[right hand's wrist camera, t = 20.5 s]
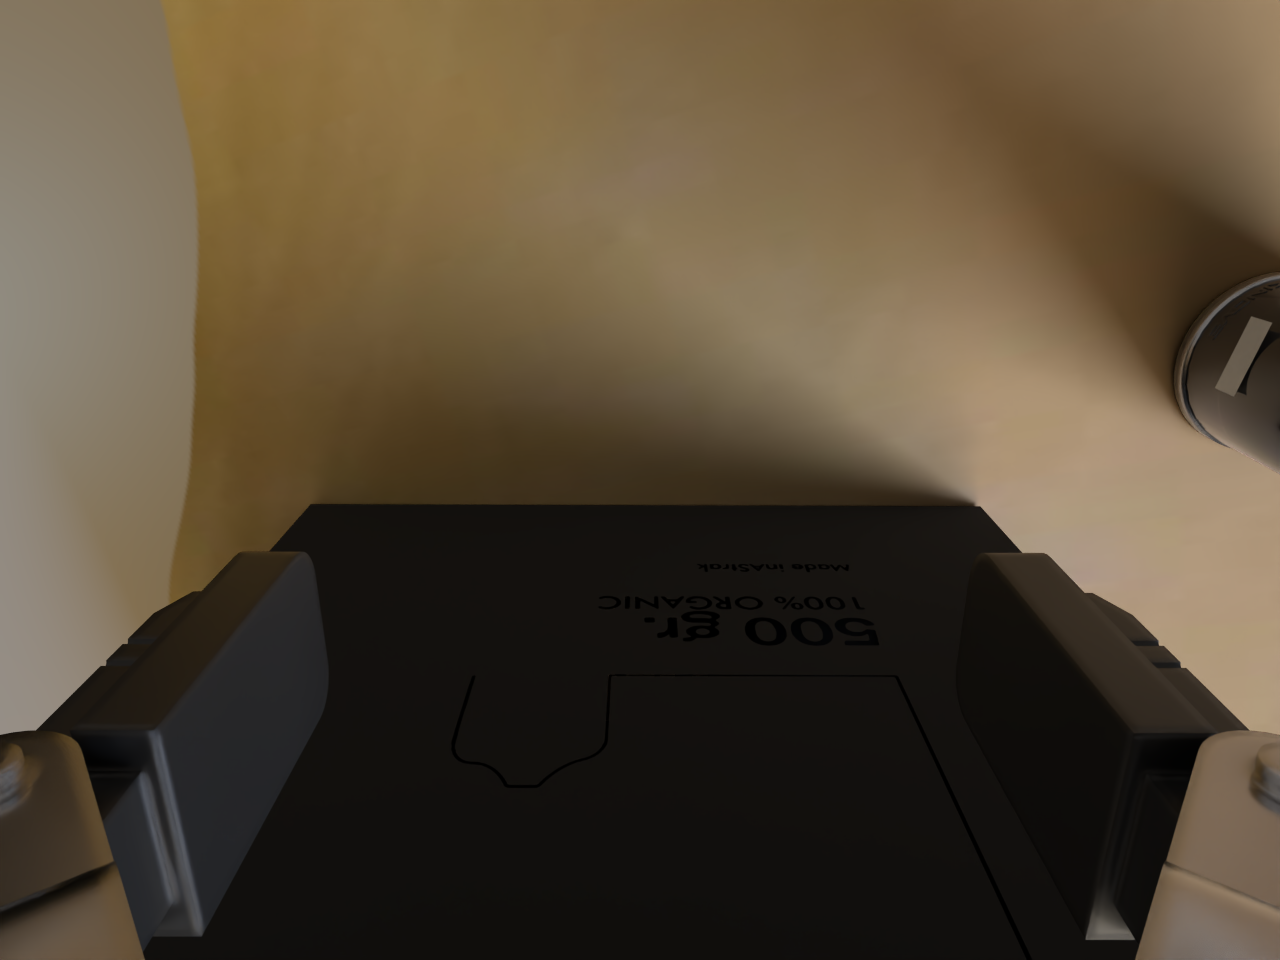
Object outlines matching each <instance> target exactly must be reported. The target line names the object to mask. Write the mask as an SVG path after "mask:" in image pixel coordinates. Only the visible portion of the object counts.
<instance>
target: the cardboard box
mask: <svg viewBox="0 0 1280 960" xmlns="http://www.w3.org/2000/svg"><path fill="white" fill-rule="evenodd" d="M269 552H305V553H307V554H308V555H309V556H310V558H311V560H312V562H313V565H314V569H315V574H316V581H317V588H318V595H319V602H320V609H321V616H322V623H323V630H324V637H325V644H326V651H327V658H328V666H329V685H328V693H327V699H326V704H325V707H324V710H323V713H322V716H321V718H320V720H319V722H318V723H317V725H316V727H315V729H314V731H313V733H312V734H311V736H310V738H309V740H308V742H307V744H306V746H305V747H304V749H303V751H302V753H301V755H300V757H299V758H298V760H297V762H296V764H295V766H294V768H293V769H292V771H291V773H290V775H289V777H288V779H287V781H286V782H285V784H284V786H283V788H282V790H281V792H280V793H279V795H278V797H277V799H276V801H275V803H274V804H273V806H272V808H271V810H270V812H269V814H268V815H267V817H266V819H265V821H264V823H263V825H262V827H261V828H260V830H259V832H258V834H257V836H256V838H255V839H254V841H253V843H252V845H251V847H250V849H249V850H248V852H247V854H246V856H245V858H244V860H243V861H242V863H241V865H240V867H239V869H238V871H237V873H236V874H235V876H234V878H233V880H232V882H231V884H230V885H229V887H228V889H227V891H226V893H225V895H224V896H223V898H222V900H221V902H220V904H219V906H218V908H217V909H216V911H215V913H214V915H213V917H212V919H211V920H210V922H209V924H208V926H207V928H206V930H205V931H204V933H203V935H202V936H152V938H151V940H150V941H149V943H148V945H147V946H146V948H145V950H144V951H143V955H144V958H145V960H1135V958H1136V955H1137V952H1138V948H1139V945H1138V943H1137V942H1136V940H1085V938H1084V936H1083V934H1082V933H1081V931H1080V929H1079V927H1078V925H1077V924H1076V922H1075V920H1074V918H1073V916H1072V914H1071V913H1070V911H1069V909H1068V907H1067V905H1066V904H1065V902H1064V900H1063V898H1062V896H1061V894H1060V893H1059V891H1058V889H1057V887H1056V885H1055V884H1054V882H1053V880H1052V878H1051V876H1050V874H1049V873H1048V871H1047V869H1046V867H1045V865H1044V864H1043V862H1042V860H1041V858H1040V856H1039V854H1038V853H1037V851H1036V849H1035V847H1034V845H1033V844H1032V842H1031V840H1030V838H1029V836H1028V834H1027V833H1026V831H1025V829H1024V827H1023V825H1022V824H1021V822H1020V820H1019V818H1018V816H1017V814H1016V813H1015V811H1014V809H1013V807H1012V805H1011V804H1010V802H1009V800H1008V798H1007V796H1006V794H1005V793H1004V791H1003V789H1002V787H1001V785H1000V784H999V782H998V780H997V778H996V776H995V774H994V773H993V771H992V769H991V767H990V765H989V764H988V762H987V760H986V758H985V756H984V754H983V753H982V751H981V749H980V747H979V745H978V744H977V742H976V740H975V738H974V736H973V734H972V733H971V731H970V729H969V727H968V725H967V724H966V722H965V720H964V718H963V715H962V713H961V710H960V706H959V702H958V697H957V689H956V665H957V658H958V651H959V644H960V637H961V630H962V623H963V617H964V610H965V603H966V596H967V589H968V582H969V576H970V570H971V567H972V564H973V561H974V560H975V558H976V556H978V555H979V554H981V553H1022V552H1021V551H1020V550H1019V549H1018V548H1017V547H1016V546H1015V544H1014V543H1013V542H1012V541H1011V540H1010V539H1009V538H1008V537H1007V536H1006V534H1005V533H1004V532H1003V531H1002V530H1001V529H1000V528H999V527H998V526H997V524H996V523H995V522H994V521H993V520H992V519H991V518H990V517H989V516H988V515H987V513H986V512H985V511H984V510H983V509H982V508H981V507H980V506H679V505H372V504H311V505H310V506H309V507H308V508H307V509H306V510H305V511H304V513H303V514H302V515H301V516H300V517H299V518H298V519H297V521H296V522H295V523H294V524H293V525H292V526H291V527H290V528H289V530H288V531H287V532H286V533H285V534H284V535H283V536H282V538H281V539H280V540H279V541H278V542H277V543H276V544H275V546H274V547H273V548H272V549H271V550H270V551H269ZM626 596H627V598H626V599H625V597H626ZM635 597H636V598H640V600H638V601H636V600H635ZM666 598H667V599H669V601H667V599H666ZM600 608H607V609H600ZM613 608H614V609H613ZM626 608H629V609H626ZM637 608H639V609H637ZM651 618H653V619H652V620H651ZM667 618H669V619H668V620H667ZM673 618H677V621H676V620H674V619H673ZM681 618H682V619H681ZM610 674H613V675H616V676H611V692H610V711H609V720H607V721H606V710H607V692H608V675H610ZM627 674H653V675H654V676H626V675H627ZM660 675H675V676H660ZM693 675H708V676H693Z"/></svg>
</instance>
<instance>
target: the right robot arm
mask: <svg viewBox="0 0 1280 960" xmlns="http://www.w3.org/2000/svg"><path fill="white" fill-rule="evenodd" d="M1174 389H1175V395H1176V399H1177V402H1178V405H1179V407H1180V409H1181V412H1182V413H1183V415H1184V417H1185V418H1186V419H1187V421H1188V422H1189V423H1190V424H1191V425H1192V426H1193V427H1194V428H1195V429H1196V430H1197V431H1198V432H1200V433H1201V434H1203V435H1204V436H1206V437H1208V438H1210V439H1211V440H1213V441H1215V442H1217V443H1219V444H1221V445H1224V446H1226V447H1229V448H1232V449H1234V450H1236V451H1238V452H1240V453H1242V454H1244V455H1245V456H1247V457H1249V458H1251V459H1252V460H1254V461H1256V462H1258V463H1260V464H1262V465H1263V466H1265V467H1267V468H1269V469H1271V470H1273V471H1275V472H1276V473H1278V474H1280V272H1274V273H1268V274H1264V275H1260V276H1257V277H1254V278H1251V279H1248V280H1246V281H1244V282H1242V283H1240V284H1237V285H1236V286H1234V287H1232V288H1230V289H1229V290H1227V291H1226V292H1224V293H1223V294H1221V295H1220V296H1219V297H1218V298H1216V299H1215V300H1214V301H1213V302H1212V303H1211V304H1210V305H1209V306H1207V307H1206V308H1205V309H1204V311H1203V312H1202V313H1201V314H1200V315H1199V316H1198V318H1197V319H1196V320H1195V321H1194V323H1193V324H1192V326H1191V327H1190V329H1189V330H1188V332H1187V334H1186V336H1185V338H1184V340H1183V342H1182V344H1181V347H1180V349H1179V352H1178V355H1177V359H1176V364H1175V370H1174ZM106 662H107V663H106V666H100V667H99V668H98V669H97V670H96V671H95V672H94V673H93V674H92V675H91V676H90V677H89V678H88V679H87V680H86V681H85V682H84V683H83V684H82V685H81V686H80V687H79V688H78V689H77V690H76V691H75V692H74V693H73V694H72V695H71V696H70V697H69V698H68V699H67V700H66V701H65V702H64V703H63V704H62V705H61V706H60V707H59V708H58V709H57V710H56V711H55V712H54V713H53V714H52V715H51V716H50V717H49V718H48V719H47V720H46V721H45V722H44V723H43V724H42V725H41V726H40V727H39V728H38V729H37V730H36V731H22V732H13V733H8V734H3V735H0V960H145V958H144V955H143V951H144V950H145V948H146V946H147V945H148V943H149V941H150V940H151V938H152V936H202V935H203V933H204V931H205V930H206V928H207V926H208V924H209V922H210V920H211V919H212V917H213V915H214V913H215V911H216V909H217V908H218V906H219V904H220V902H221V900H222V898H223V896H224V895H225V893H226V891H227V889H228V887H229V885H230V884H231V882H232V880H233V878H234V876H235V874H236V873H237V871H238V869H239V867H240V865H241V863H242V861H243V860H244V858H245V856H246V854H247V852H248V850H249V849H250V847H251V845H252V843H253V841H254V839H255V838H256V836H257V834H258V832H259V830H260V828H261V827H262V825H263V823H264V821H265V819H266V817H267V815H268V814H269V812H270V810H271V808H272V806H273V804H274V803H275V801H276V799H277V797H278V795H279V793H280V792H281V790H282V788H283V786H284V784H285V782H286V781H287V779H288V777H289V775H290V773H291V771H292V769H293V768H294V766H295V764H296V762H297V760H298V758H299V757H300V755H301V753H302V751H303V749H304V747H305V746H306V744H307V742H308V740H309V738H310V736H311V734H312V733H313V731H314V729H315V727H316V725H317V723H318V722H319V720H320V718H321V716H322V713H323V710H324V707H325V704H326V699H327V693H328V685H329V666H328V658H327V651H326V644H325V637H324V630H323V623H322V616H321V609H320V602H319V595H318V588H317V581H316V574H315V569H314V565H313V562H312V560H311V558H310V556H309V555H308V554H307V553H305V552H240V553H238V554H237V555H236V556H235V557H234V558H233V559H232V560H231V561H230V562H229V563H228V564H227V565H226V566H225V567H224V568H223V569H222V570H221V571H220V572H219V574H218V575H217V576H216V577H215V578H214V579H213V580H212V581H211V582H210V583H209V584H208V585H207V586H206V587H205V588H204V589H203V590H202V591H201V592H192V593H190V594H188V595H186V596H184V597H182V598H181V599H179V600H177V601H175V602H173V603H172V604H170V605H168V606H166V607H164V608H163V609H161V610H159V611H157V612H155V613H154V614H153V615H152V616H151V617H150V618H149V619H148V620H147V621H146V622H145V623H144V624H143V625H142V626H140V627H139V628H138V630H136V631H135V632H134V633H133V634H132V635H131V636H130V637H129V639H128V644H122V645H121V646H120V647H119V648H118V649H117V650H116V651H115V652H114V653H113V654H112V655H111V656H110V657H109V658H108V659H107V661H106ZM1180 663H1181V662H1180V661H1179V660H1178V659H1177V658H1175V657H1174V656H1173V655H1172V654H1171V653H1170V652H1169V651H1168V650H1167V649H1166V648H1165V647H1164V646H1159V644H1158V640H1157V639H1156V638H1155V637H1154V636H1153V635H1152V634H1151V633H1150V632H1149V631H1148V630H1147V629H1146V628H1145V627H1144V626H1143V625H1142V624H1141V623H1140V622H1139V621H1138V620H1137V619H1136V618H1135V617H1134V616H1133V615H1131V614H1130V613H1128V612H1126V611H1124V610H1122V609H1121V608H1119V607H1117V606H1115V605H1113V604H1111V603H1110V602H1108V601H1106V600H1104V599H1102V598H1101V597H1099V596H1097V595H1095V594H1093V593H1084V592H1083V591H1082V590H1081V589H1080V588H1079V587H1078V586H1077V585H1076V584H1075V582H1074V581H1073V580H1072V579H1071V578H1070V577H1069V576H1068V575H1067V574H1066V573H1065V572H1064V571H1063V570H1062V569H1061V568H1060V567H1059V566H1058V565H1057V564H1056V563H1055V562H1054V561H1053V560H1052V559H1051V557H1049V556H1048V555H1047V554H1044V553H981V554H979V555H978V556H976V558H975V560H974V561H973V564H972V567H971V570H970V576H969V582H968V589H967V596H966V603H965V610H964V617H963V623H962V630H961V637H960V644H959V651H958V658H957V665H956V689H957V697H958V702H959V706H960V710H961V713H962V715H963V718H964V720H965V722H966V724H967V725H968V727H969V729H970V731H971V733H972V734H973V736H974V738H975V740H976V742H977V744H978V745H979V747H980V749H981V751H982V753H983V754H984V756H985V758H986V760H987V762H988V764H989V765H990V767H991V769H992V771H993V773H994V774H995V776H996V778H997V780H998V782H999V784H1000V785H1001V787H1002V789H1003V791H1004V793H1005V794H1006V796H1007V798H1008V800H1009V802H1010V804H1011V805H1012V807H1013V809H1014V811H1015V813H1016V814H1017V816H1018V818H1019V820H1020V822H1021V824H1022V825H1023V827H1024V829H1025V831H1026V833H1027V834H1028V836H1029V838H1030V840H1031V842H1032V844H1033V845H1034V847H1035V849H1036V851H1037V853H1038V854H1039V856H1040V858H1041V860H1042V862H1043V864H1044V865H1045V867H1046V869H1047V871H1048V873H1049V874H1050V876H1051V878H1052V880H1053V882H1054V884H1055V885H1056V887H1057V889H1058V891H1059V893H1060V894H1061V896H1062V898H1063V900H1064V902H1065V904H1066V905H1067V907H1068V909H1069V911H1070V913H1071V914H1072V916H1073V918H1074V920H1075V922H1076V924H1077V925H1078V927H1079V929H1080V931H1081V933H1082V934H1083V936H1084V938H1085V940H1136V942H1137V943H1138V945H1139V948H1138V952H1137V955H1136V958H1135V960H1280V735H1277V734H1272V733H1267V732H1259V731H1250V730H1249V729H1248V728H1247V727H1246V726H1245V725H1243V724H1242V723H1241V722H1240V721H1239V720H1238V719H1237V718H1236V717H1235V716H1234V715H1233V714H1232V713H1231V712H1230V711H1229V710H1228V709H1227V708H1226V707H1225V706H1224V705H1223V704H1222V703H1221V702H1220V701H1219V700H1218V699H1217V698H1216V697H1215V696H1214V695H1213V694H1212V693H1211V692H1210V691H1209V690H1208V689H1207V688H1206V687H1205V686H1204V685H1203V684H1202V683H1201V682H1200V681H1199V680H1198V679H1197V678H1196V677H1195V676H1194V675H1193V674H1192V673H1191V672H1190V671H1189V670H1188V669H1187V668H1181V666H1180Z"/></svg>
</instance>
